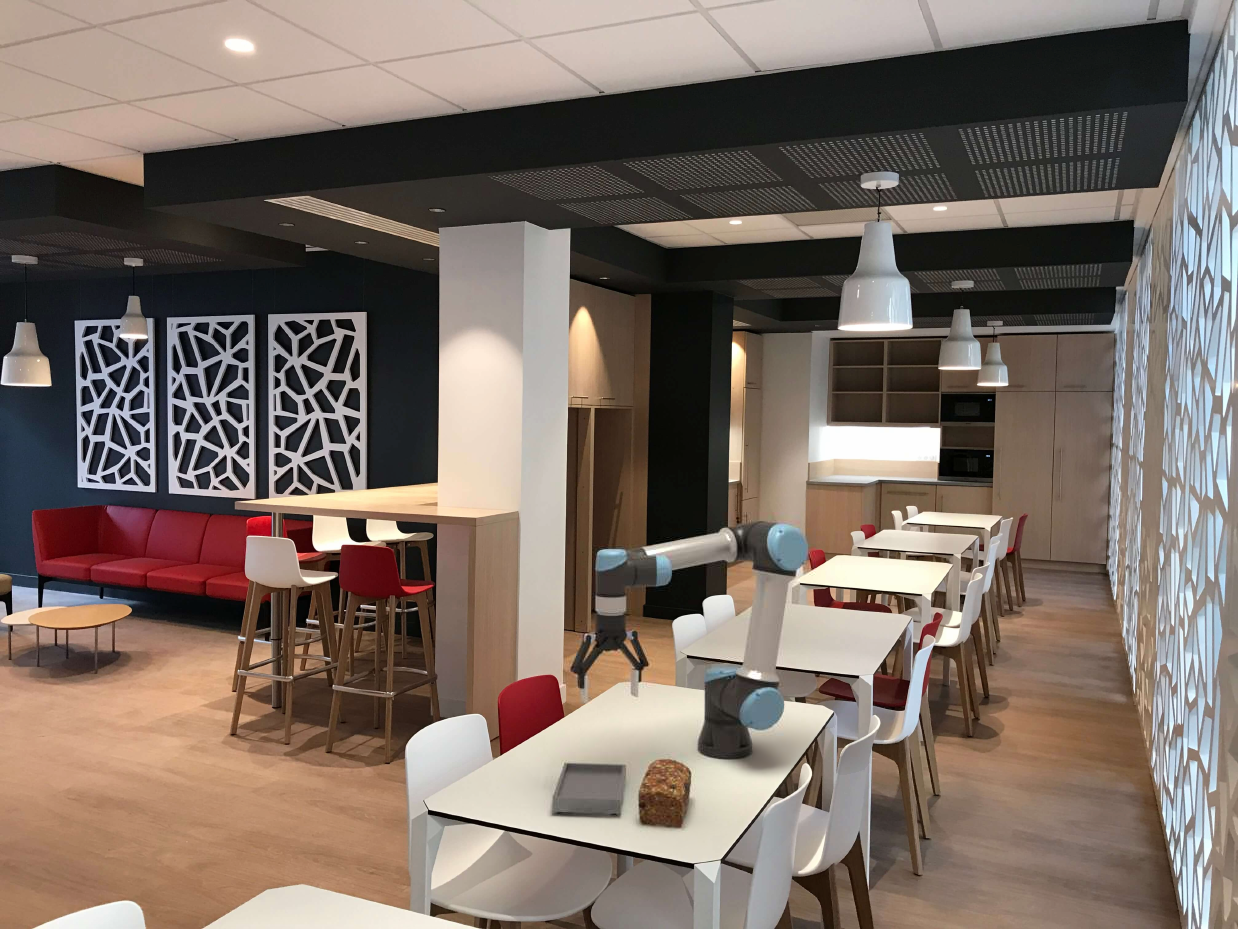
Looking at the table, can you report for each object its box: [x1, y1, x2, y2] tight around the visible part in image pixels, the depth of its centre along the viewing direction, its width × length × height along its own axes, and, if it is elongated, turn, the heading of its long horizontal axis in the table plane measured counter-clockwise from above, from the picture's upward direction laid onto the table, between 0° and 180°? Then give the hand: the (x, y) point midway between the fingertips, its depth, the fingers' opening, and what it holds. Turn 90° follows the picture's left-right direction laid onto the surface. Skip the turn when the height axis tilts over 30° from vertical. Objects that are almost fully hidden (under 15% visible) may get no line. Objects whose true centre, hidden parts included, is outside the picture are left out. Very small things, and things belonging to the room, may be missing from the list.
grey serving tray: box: [551, 762, 627, 816], centre depth 231 cm, size 16×24×4 cm, turn 176°
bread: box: [637, 758, 692, 829], centre depth 223 cm, size 19×11×10 cm, turn 169°
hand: (609, 698), depth 236 cm, fingers open, 13 cm apart
